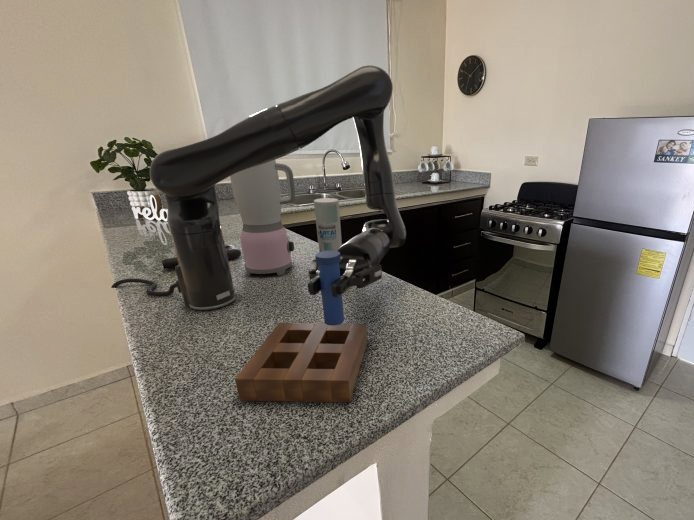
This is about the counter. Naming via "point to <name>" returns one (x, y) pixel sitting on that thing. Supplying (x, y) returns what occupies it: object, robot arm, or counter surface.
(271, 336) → the holder
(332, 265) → the blue peg
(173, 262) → the door handle
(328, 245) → the spray can
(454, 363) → the counter surface
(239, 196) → the blender
